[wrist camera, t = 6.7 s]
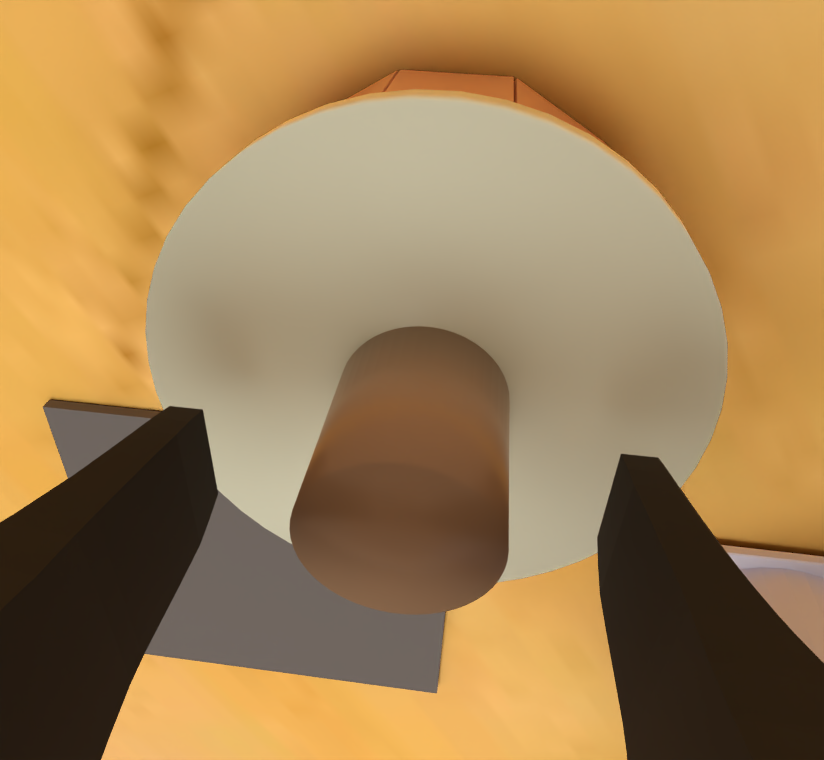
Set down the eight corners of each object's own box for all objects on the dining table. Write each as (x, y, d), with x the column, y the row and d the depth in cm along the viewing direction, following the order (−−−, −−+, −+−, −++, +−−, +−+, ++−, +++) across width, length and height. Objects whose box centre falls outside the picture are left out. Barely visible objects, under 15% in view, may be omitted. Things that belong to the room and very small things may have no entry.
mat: (462, 443, 22) (461, 451, 21) (437, 684, 30) (436, 693, 29) (49, 399, 23) (42, 406, 22) (133, 643, 31) (129, 651, 31)
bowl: (679, 87, 15) (734, 144, 11) (594, 432, 21) (611, 544, 17) (244, 59, 16) (163, 105, 12) (278, 399, 22) (230, 500, 18)
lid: (822, 132, 11) (989, 253, 7) (628, 590, 18) (660, 778, 14) (118, 52, 12) (-78, 124, 8) (192, 524, 19) (108, 687, 15)
